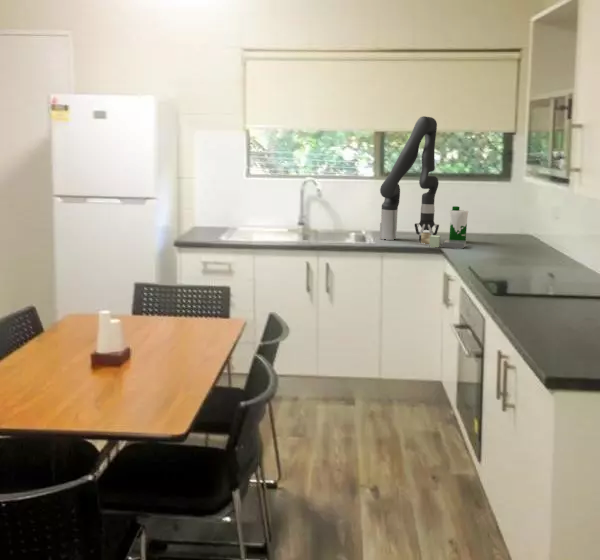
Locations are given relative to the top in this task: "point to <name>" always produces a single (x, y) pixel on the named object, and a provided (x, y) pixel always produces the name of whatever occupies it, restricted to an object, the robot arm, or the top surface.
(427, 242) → the maple block
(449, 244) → the slate base
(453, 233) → the soya milk
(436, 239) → the sage block
